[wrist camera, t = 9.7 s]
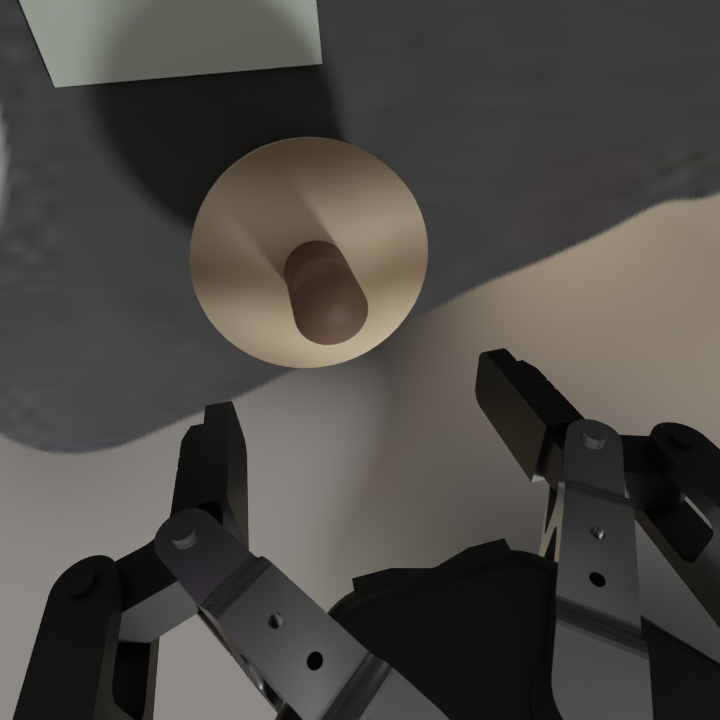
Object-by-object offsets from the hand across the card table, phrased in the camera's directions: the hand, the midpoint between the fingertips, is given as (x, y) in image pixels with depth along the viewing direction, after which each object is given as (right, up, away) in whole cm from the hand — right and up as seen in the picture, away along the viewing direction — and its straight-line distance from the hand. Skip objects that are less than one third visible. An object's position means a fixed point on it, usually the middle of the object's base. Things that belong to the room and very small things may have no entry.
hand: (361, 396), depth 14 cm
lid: (-2, +6, +9) cm, 11 cm away
